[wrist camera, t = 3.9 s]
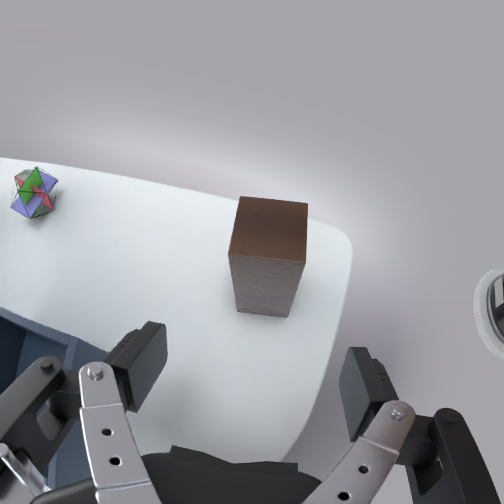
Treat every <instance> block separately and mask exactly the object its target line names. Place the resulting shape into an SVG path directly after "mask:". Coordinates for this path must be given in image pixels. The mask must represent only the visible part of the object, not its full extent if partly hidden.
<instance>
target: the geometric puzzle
mask: <svg viewBox="0 0 504 504" xmlns="http://www.w3.org/2000/svg"><path fill="white" fill-rule="evenodd" d="M34 168H35V167H34ZM38 168H39V167H37V166H36V168H35V169H34V170H24V171H23V172H21V173H19V174H18V175H16V176H14V177H15V181H16V183H17V184H16V186H17V185H18V187H19V188H20V189H19V190H18V188H17V193H19V197H18V198H17V199H16V201H15V202H14V201H13V202H14V204H13V203H12V204H13V205H12V206H11V207H10V208H12V209H14V210H15V211H17V212H19V213H20V214H22V215H24V216H25V217H27V218H29V220H30V219H33V218H35V217H34V215H35V214H36V212H37V211H38V209H39V208H40V206H41V205H42V204H43V205H45V206H47V207H48V208H50V209H52V210H53V211H54V209H53V206H52V204H51V201H50V199H49V196H48V195H49V194H48V193H50V192H51V191H50V190H52V189H53V188H52V187H54V184H56V182H57V181H58V179H56V178H53V176H52V177H51V176H49V175H50V174H49V175H47V174H45V173H43V172H41V171H39V170H38ZM32 169H33V168H32ZM41 170H42V169H41ZM44 172H45V171H44ZM57 183H58V182H57ZM51 188H52V189H51ZM56 190H57V189H56ZM49 191H50V192H49ZM12 194H13V193H12ZM16 195H17V194H16ZM15 197H16V196H15ZM55 198H56V197H55ZM14 200H15V199H14ZM54 206H55V205H54ZM50 212H51V211H50ZM47 213H49V212H47ZM45 214H46V213H45ZM42 215H43V214H42ZM39 216H40V215H39ZM36 217H38V216H36Z"/></svg>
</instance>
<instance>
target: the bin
mask: <svg viewBox="0 0 504 504" xmlns="http://www.w3.org/2000/svg"><path fill="white" fill-rule="evenodd" d="M108 354H109V353H108V352H105V351H103V350H101V349H99V348H97V347H95V346H93V345H91V344H89V343H87V342H85V341H83V340H81V339H79V338H77V337H74V336H71V335H68V334H66V333H63V332H60V331H57V330H55V329H52V328H49V327H47V326H44V325H42V324H39V323H37V322H34V321H32V320H29V319H27V318H25V317H22V316H20V315H18V314H15V313H13V312H11V311H9V310H7V309H4V308H2V307H0V395H1V394H2V393H3V392H4V391H5V390H6V389H7V388H8V387H9V386H10V385H11V384H12V383H13V382H14V381H15V380H16V379H17V378H18V377H19V376H20V375H21V374H22V373H23V372H24V371H25V370H26V369H27V368H28V367H29V366H30V365H31V364H32V363H33V362H35V361H36V360H37V359H39V358H41V357H45V356H53V357H56V358H58V359H59V360H60V361H61V363H62V366H63V369H69V370H78V371H79V370H80V369H81V367H83V366H84V365H85V364H88V363H91V362H102V361H103V360H104V358H105V357H106V356H107V355H108ZM46 406H47V404H46V402H45V403H44V405H43V406H42V407H41V408H40V410H39V411H38V413H37V417H38V416H39V415H40V414H41V412H42V411H43V410H44V409H45V407H46ZM42 476H43V479H44V485H46V486H48V487H49V488H51V489H52V490H54V489H58V488H61V487H64V486H67V485H70V484H73V483H76V482H79V481H81V480H84V479H87V478H89V477H92V473H91V469H90V465H89V460H88V456H87V451H86V446H85V441H84V435H83V429H82V423H81V420H77V421H76V423H75V424H74V426H73V427H72V429H71V430H70V432H69V433H68V435H67V436H66V438H65V439H64V441H63V442H62V444H61V445H60V447H59V449H58V450H57V452H56V453H55V455H54V456H53V458H52V460H51V461H50V463H49V464H48V466H47V468H46V469H45V471H44V473H43V474H42Z"/></svg>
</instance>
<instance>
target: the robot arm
mask: <svg viewBox="0 0 504 504" xmlns="http://www.w3.org/2000/svg"><path fill="white" fill-rule="evenodd" d="M486 305H487V313H488V317H489V321H490V324H491V326H492V329H493V331H494V333H495V334H496V336H497V337H498V338H499V340H500V341H501V342H503V343H504V273H503V274H501V275H499V276H498V277H496V278H495V279H494V280H493V281H492V282H491V283H490V285H489V288H488V291H487V298H486ZM167 355H168V352H167V336H166V326H165V324H162V323H157V322H152V321H148V322H147V323H146V324H145V325H144V326H143V327H142V328H141V329H140V330H138V329H136V330H134V331H132V332H130V333H128V334H126V336H125V337H124V338H123V339H122V341H120V342H119V343H118V344H117V346H115V347H114V349H113V350H112V351H111V352H110V353H109V354H108V355H107V356H106V357H105V358H104V360H103V361H102V362H91V363H88V364H85V365H84V366H83V367H81V369H80V370H79V371H78V370H69V369H63V366H62V363H61V361H60V360H59V359H58V358H56V357H53V356H45V357H41V358H39V359H37V360H36V361H35V362H33V363H32V364H31V365H30V366H29V367H28V368H27V369H26V370H25V371H24V372H23V373H22V374H21V375H20V376H19V377H18V378H17V379H16V380H15V381H14V382H13V383H12V384H11V385H10V386H9V387H8V388H7V389H6V390H5V391H4V392H3V393H2V394H1V395H0V504H370V503H371V501H372V500H373V498H374V497H375V495H376V494H377V492H378V491H379V489H380V487H381V486H382V484H383V482H384V481H385V479H386V477H387V476H388V474H389V472H390V471H391V469H392V467H393V465H394V464H399V465H405V468H406V472H407V476H408V481H409V485H410V489H411V495H412V500H413V504H501V502H500V500H499V497H498V494H497V492H496V489H495V486H494V484H493V481H492V479H491V476H490V474H489V471H488V469H487V467H486V465H485V462H484V460H483V458H482V456H481V453H480V451H479V449H478V447H477V445H476V442H475V440H474V438H473V436H472V434H471V432H470V430H469V428H468V426H467V424H466V422H465V420H464V418H463V417H462V415H461V414H460V413H459V412H457V411H456V410H454V409H450V408H442V409H439V410H438V411H437V412H436V413H435V415H434V416H433V417H427V416H420V415H416V414H415V411H414V409H413V408H412V407H411V406H410V405H409V404H407V403H405V402H403V401H399V398H398V397H397V394H396V392H395V389H394V387H393V385H392V383H391V381H390V378H389V376H388V375H387V372H386V370H385V368H384V366H383V365H382V364H381V363H380V362H379V361H378V360H377V359H371V356H370V354H369V352H368V350H367V348H365V347H350V348H349V349H348V351H347V354H346V357H345V361H344V364H343V367H342V371H341V374H340V378H339V389H340V394H341V398H342V403H343V407H344V412H345V417H346V422H347V427H348V431H349V436H350V442H355V443H354V444H353V446H352V447H351V448H350V449H349V451H348V452H347V453H346V455H345V456H344V457H343V458H342V459H341V461H340V462H339V463H338V465H337V466H336V467H335V468H334V469H333V470H332V472H331V473H330V474H329V475H328V476H327V477H326V478H325V479H324V481H323V482H322V481H320V480H318V479H317V478H315V477H313V476H310V475H308V474H305V473H302V472H298V464H297V463H283V462H269V461H264V462H253V463H238V464H233V463H229V462H226V461H224V460H221V459H218V458H216V457H213V456H211V455H208V454H206V453H203V452H200V451H195V450H191V449H186V448H182V447H178V446H174V445H172V447H171V449H170V452H169V453H152V454H147V455H143V456H140V454H139V451H138V448H137V446H136V443H135V440H134V438H133V435H132V432H131V429H130V426H129V423H128V420H127V417H126V414H125V413H126V411H127V410H129V411H132V412H135V413H137V412H138V410H139V408H140V407H141V405H142V403H143V402H144V400H145V398H146V396H147V395H148V393H149V391H150V390H151V388H152V386H153V385H154V383H155V381H156V380H157V378H158V376H159V375H160V373H161V371H162V370H163V368H164V366H165V364H166V361H167ZM45 402H46V404H47V406H46V407H45V409H44V410H43V411H42V412H41V414H40V415H39V416H38V417H37V413H38V411H39V410H40V408H41V407H42V406H43V405H44V403H45ZM77 420H81V423H82V429H83V435H84V441H85V446H86V451H87V456H88V460H89V465H90V469H91V473H92V477H89V478H87V479H84V480H81V481H79V482H76V483H73V484H70V485H67V486H64V487H61V488H58V489H54V490H51V491H48V492H45V493H44V491H43V488H44V479H43V476H42V474H43V473H44V471H45V469H46V468H47V466H48V464H49V463H50V461H51V460H52V458H53V456H54V455H55V453H56V452H57V450H58V449H59V447H60V445H61V444H62V442H63V441H64V439H65V438H66V436H67V435H68V433H69V432H70V430H71V429H72V427H73V426H74V424H75V423H76V421H77ZM439 459H440V461H439ZM440 462H441V464H440ZM441 465H442V467H441ZM442 468H443V470H442Z"/></svg>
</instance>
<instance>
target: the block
mask: <svg viewBox="0 0 504 504" xmlns="http://www.w3.org/2000/svg"><path fill="white" fill-rule="evenodd" d="M307 217H308V204H307V203H301V202H292V201H284V200H274V199H265V198H254V197H243V196H240V199H239V203H238V208H237V213H236V218H235V222H234V227H233V232H232V237H231V242H230V246H229V251H228V257H229V264H230V270H231V276H232V282H233V288H234V294H235V300H236V306H237V311H238V312H246V313H254V314H262V315H270V316H279V317H288V314H289V311H290V308H291V305H292V302H293V300H294V297H295V294H296V291H297V288H298V285H299V282H300V279H301V276H302V273H303V270H304V267H305V263H306V246H307Z"/></svg>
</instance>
